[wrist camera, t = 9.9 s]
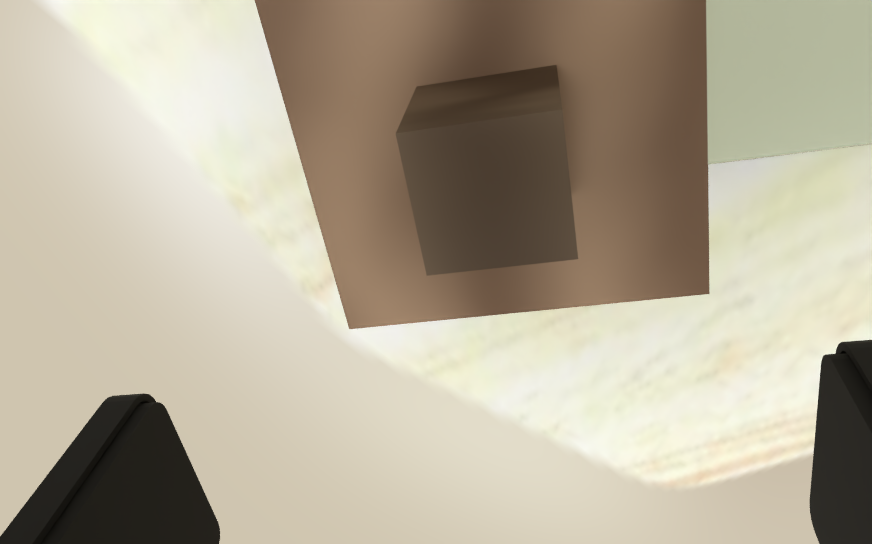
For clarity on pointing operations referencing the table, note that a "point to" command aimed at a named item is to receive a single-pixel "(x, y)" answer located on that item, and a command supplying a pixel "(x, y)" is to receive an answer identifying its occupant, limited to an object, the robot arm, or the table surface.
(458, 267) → the lid
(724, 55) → the mat
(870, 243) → the table surface
